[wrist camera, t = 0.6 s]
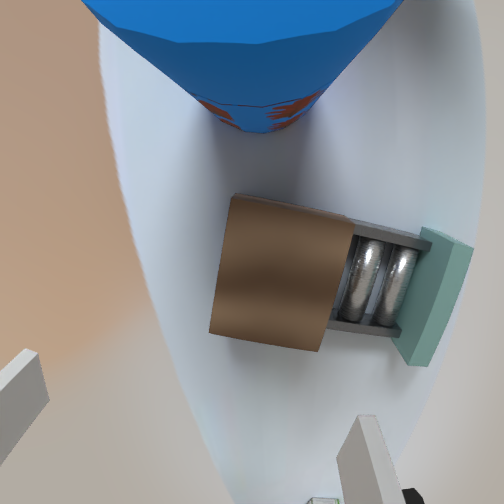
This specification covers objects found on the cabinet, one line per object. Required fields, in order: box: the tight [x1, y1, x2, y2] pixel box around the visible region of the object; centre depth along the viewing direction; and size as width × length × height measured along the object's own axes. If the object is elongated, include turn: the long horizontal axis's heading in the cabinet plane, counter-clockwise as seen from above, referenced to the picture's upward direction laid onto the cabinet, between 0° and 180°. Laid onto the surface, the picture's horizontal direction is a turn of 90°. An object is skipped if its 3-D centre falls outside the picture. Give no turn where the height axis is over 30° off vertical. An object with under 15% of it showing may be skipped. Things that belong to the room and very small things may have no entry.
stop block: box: [391, 227, 474, 367], centre depth 30 cm, size 13×3×7 cm, turn 169°
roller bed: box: [326, 218, 432, 338], centre depth 32 cm, size 11×20×3 cm, turn 79°
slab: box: [209, 193, 355, 352], centre depth 29 cm, size 12×10×4 cm
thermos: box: [81, 0, 404, 133], centre depth 17 cm, size 11×11×25 cm
